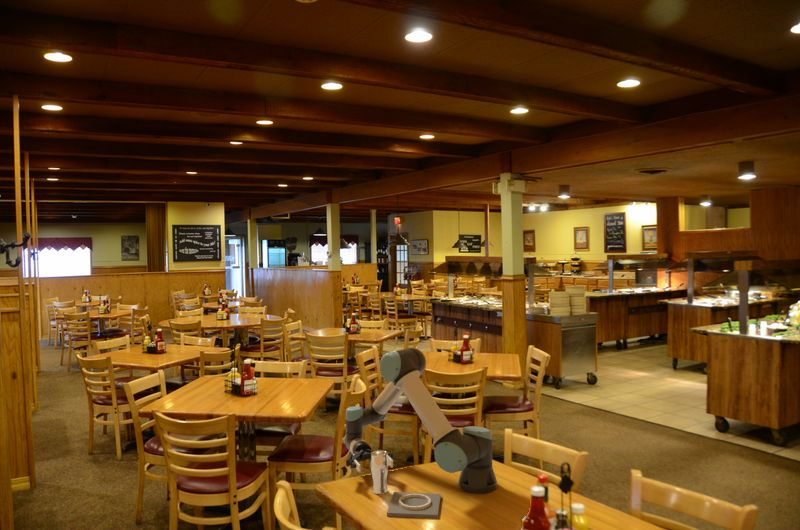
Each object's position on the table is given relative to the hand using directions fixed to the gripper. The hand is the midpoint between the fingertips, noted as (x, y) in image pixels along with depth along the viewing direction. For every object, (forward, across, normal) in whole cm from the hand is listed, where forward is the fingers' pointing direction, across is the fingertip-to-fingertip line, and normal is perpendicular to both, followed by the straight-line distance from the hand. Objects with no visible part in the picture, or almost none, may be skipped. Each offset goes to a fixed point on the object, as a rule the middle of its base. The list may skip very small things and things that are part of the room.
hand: (376, 466), depth 232 cm
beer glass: (+3, 0, -9) cm, 10 cm away
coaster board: (+21, -8, -9) cm, 24 cm away
